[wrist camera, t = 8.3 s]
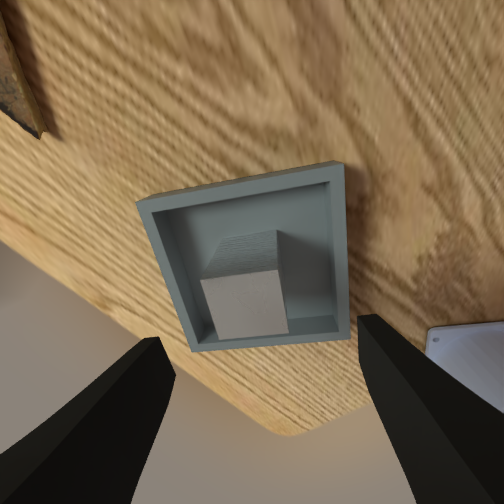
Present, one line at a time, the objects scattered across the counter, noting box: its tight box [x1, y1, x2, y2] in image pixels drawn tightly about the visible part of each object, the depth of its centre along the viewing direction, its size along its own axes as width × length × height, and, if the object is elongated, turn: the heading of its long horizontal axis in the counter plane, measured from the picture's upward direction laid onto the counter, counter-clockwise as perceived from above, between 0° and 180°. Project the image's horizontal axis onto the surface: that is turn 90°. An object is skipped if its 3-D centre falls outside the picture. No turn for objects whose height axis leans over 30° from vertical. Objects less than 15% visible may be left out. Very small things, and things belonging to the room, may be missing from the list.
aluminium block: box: [200, 230, 289, 340], centre depth 16 cm, size 4×4×6 cm
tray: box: [135, 161, 351, 352], centre depth 18 cm, size 13×13×2 cm
